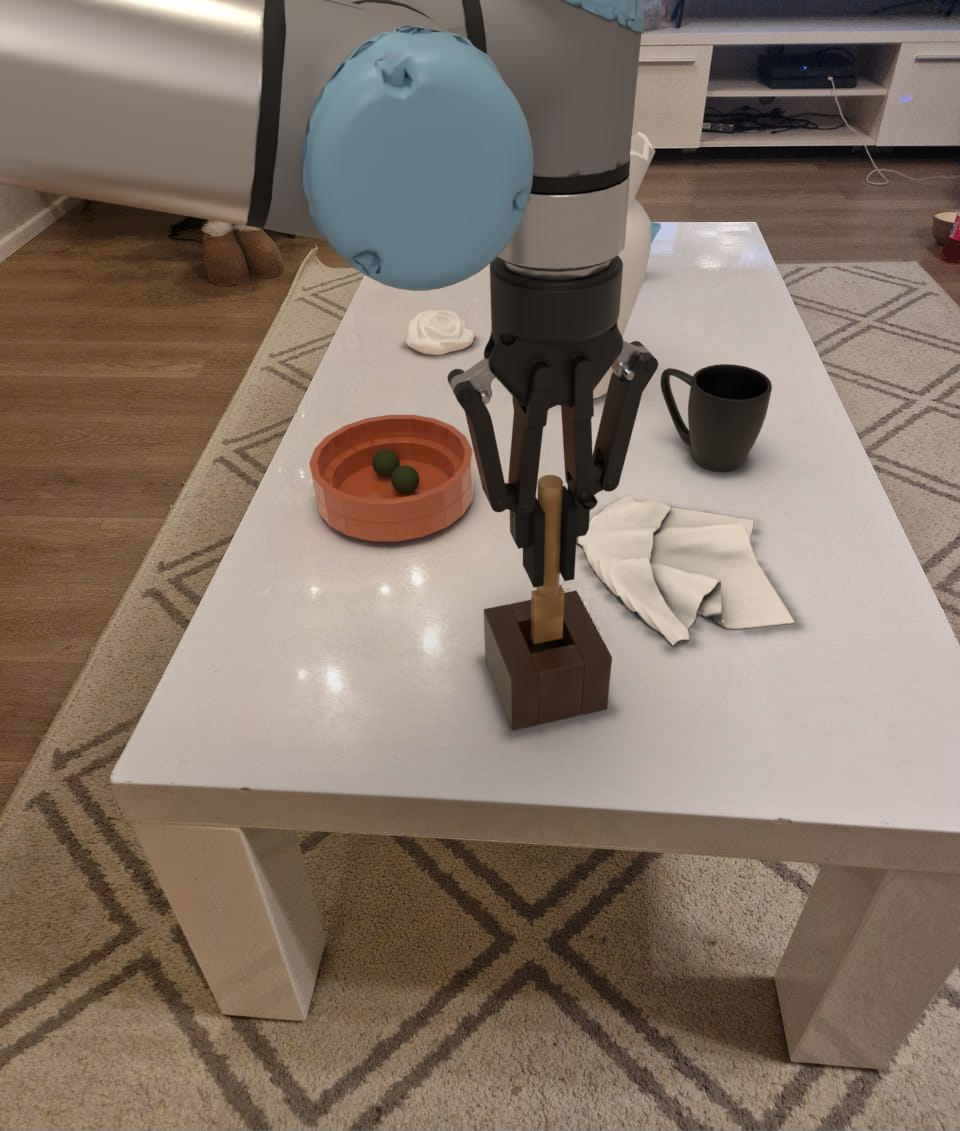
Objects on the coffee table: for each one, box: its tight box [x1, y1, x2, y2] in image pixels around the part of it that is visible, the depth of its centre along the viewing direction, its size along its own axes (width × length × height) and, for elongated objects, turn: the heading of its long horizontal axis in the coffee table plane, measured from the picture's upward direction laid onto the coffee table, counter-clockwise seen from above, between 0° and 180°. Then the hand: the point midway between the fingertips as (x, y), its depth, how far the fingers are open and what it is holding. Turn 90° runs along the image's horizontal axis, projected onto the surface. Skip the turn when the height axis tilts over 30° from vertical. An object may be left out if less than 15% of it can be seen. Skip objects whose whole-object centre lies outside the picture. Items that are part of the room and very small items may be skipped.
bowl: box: [308, 414, 475, 542], centre depth 90 cm, size 17×17×6 cm
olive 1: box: [372, 449, 400, 477], centre depth 93 cm, size 3×3×3 cm
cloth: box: [576, 495, 795, 646], centre depth 81 cm, size 20×22×2 cm
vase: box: [593, 131, 656, 400], centre depth 100 cm, size 15×15×29 cm
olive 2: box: [391, 465, 419, 494], centre depth 91 cm, size 3×3×3 cm
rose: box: [405, 309, 476, 356], centre depth 119 cm, size 10×4×10 cm
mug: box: [660, 363, 773, 473], centre depth 94 cm, size 8×12×10 cm
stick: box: [530, 474, 565, 644], centre depth 63 cm, size 2×2×15 cm
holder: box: [483, 589, 613, 732], centre depth 69 cm, size 8×8×6 cm
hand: (548, 571), depth 63 cm, fingers closed on stick, 2 cm apart
